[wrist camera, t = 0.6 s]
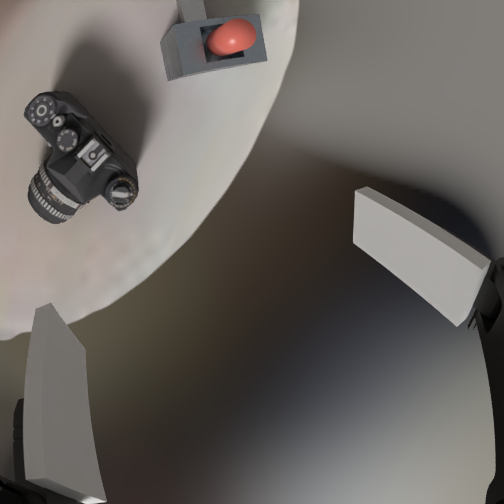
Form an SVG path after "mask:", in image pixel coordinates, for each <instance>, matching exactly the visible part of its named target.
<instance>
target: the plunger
mask: <svg viewBox="0 0 504 504" xmlns="http://www.w3.org/2000/svg"><path fill="white" fill-rule="evenodd" d="M255 40H256V30H255V28H254V26H253V25H252V24H251V23H250V22H249V21H247V20H244V19H240V18H236V19H232V20H230V21H228V22H226V23H225V24H223V25H222V26H220V27H218V28H217V29H215V30H213V31H212V32H211V33H210V34H209V35H208V36H207V39H206V46H207V48H208V50H209V51H210V52H211V53H212V54H214V55H216V56H226V55H229V54H232V53H235V52H238V51H241V50H245V49H247V48H249V47H251V46H252V45H253V44H254V42H255Z"/></svg>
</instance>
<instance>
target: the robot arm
mask: <svg viewBox="0 0 504 504" xmlns="http://www.w3.org/2000/svg"><path fill="white" fill-rule="evenodd" d="M353 243H354V244H356V245H357V246H358V247H360V248H361V249H363V250H364V251H365V252H366V253H368V254H369V255H370V256H372V257H373V258H374V259H375V260H377V261H378V262H379V263H381V264H382V265H383V266H384V267H386V268H387V269H388V270H390V271H391V272H392V273H393V274H395V275H396V276H397V277H399V278H400V279H401V280H402V281H404V282H405V283H406V284H407V285H408V286H410V287H411V288H412V289H413V290H414V291H416V292H417V293H418V294H419V295H421V296H422V297H423V298H424V299H425V300H426V301H428V302H429V303H430V304H431V305H433V306H434V307H435V308H436V309H437V310H438V311H440V312H441V313H442V314H443V315H444V316H445V317H446V318H448V319H449V320H450V321H451V322H452V323H453V324H454V325H456V326H458V325H460V324H461V323H462V322H463V320H465V319H466V318H467V316H468V314H469V312H470V310H471V308H472V306H474V307H475V308H476V310H475V312H474V315H473V316H472V318H471V320H470V322H469V324H468V330H471V328H472V326H473V324H474V322H475V321H476V324H475V326H474V330H478V331H479V336H480V339H481V344H482V348H483V353H484V358H485V363H486V368H487V373H488V380H489V386H490V393H491V400H492V408H493V418H494V431H495V452H496V472H495V476H494V479H493V480H492V482H491V484H490V485H489V488H488V490H487V495H486V503H485V504H504V258H499V259H498V260H497V261H495V260H493V259H491V258H490V257H489V256H487V255H486V254H484V253H482V252H481V251H480V250H478V249H477V248H475V247H474V246H472V245H471V244H469V243H468V242H467V243H466V242H465V240H463V239H462V238H460V237H459V238H458V236H457V235H455V234H454V233H452V232H450V231H449V230H447V229H444V228H442V227H439V226H437V225H435V224H434V223H432V222H430V221H428V220H427V219H425V218H424V217H422V216H420V215H419V214H417V213H415V212H413V211H412V210H410V209H408V208H406V207H404V206H403V205H401V204H399V203H397V202H395V201H394V200H392V199H390V198H388V197H386V196H384V195H382V194H380V193H379V192H377V191H375V190H373V189H371V188H369V187H365V188H362V189H359V190H356V191H355V212H354V234H353ZM13 428H14V430H13V439H14V442H13V453H14V471H15V483H14V482H12V481H10V480H8V479H6V478H4V477H2V476H0V504H77V501H80V502H82V503H86V504H94V503H101V502H107V501H106V497H105V493H104V489H103V485H102V481H101V477H100V472H99V467H98V462H97V458H96V451H95V446H94V439H93V433H92V427H91V419H90V411H89V401H88V390H87V376H86V357H85V348H84V347H83V346H82V345H81V344H80V342H79V341H78V340H77V338H76V337H75V336H74V334H73V333H72V332H71V330H70V329H69V328H68V326H67V325H66V324H65V322H64V321H63V319H62V318H61V317H60V315H59V314H58V312H57V311H56V309H55V308H54V306H53V305H52V304H51V303H49V304H47V305H44V306H42V307H40V308H37V309H36V311H35V316H34V321H33V327H32V332H31V339H30V345H29V352H28V361H27V369H26V379H25V390H24V398H23V399H19V400H18V402H17V405H16V408H15V411H14V421H13Z"/></svg>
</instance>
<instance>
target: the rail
mask: <svg viewBox="0 0 504 504" xmlns="http://www.w3.org/2000/svg"><path fill="white" fill-rule="evenodd" d="M176 1H177V6H178V12H179V17H180V22H181V23H180V24H174V25H173V26H172V27H171V28H170V30H169V31H168V32H167V34H166V35H165V36H164V38H163V39H162V40H161V42H160V45H161V50H162V55H163V60H164V64H165V69H166V74H167V78H168V81H170V80H174V79H178V78H182V77H187V76H191V75H196V74H200V73H205V72H210V71H215V70H220V69H226V68H232V67H237V66H242V65H247V64H253V63H258V62H264V61H267V56H266V50H265V44H264V38H263V33H262V27H261V22H260V16H259V14H257V15H241V16H229V17H220V18H211V19H207V16H206V11H205V6H204V1H203V0H176ZM236 18H240V19H244V20H247V21H249V22H250V23H251V24H252V25H253V26H254V28H255V30H256V40H255V42H254V44H253V45H252V46H251V47H249V48H247V49H245V50H241V51H238V52H235V53H232V54H229V55H226V56H216V55H214V54H212V53H211V52H210V51H209V50H208V48H207V46H206V39H207V36H208V35H209V34H210V33H211V32H212V31H213V30H215V29H217V28H218V27H220V26H222V25H223V24H225V23H226V22H228V21H230V20H232V19H236Z"/></svg>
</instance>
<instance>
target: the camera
mask: <svg viewBox="0 0 504 504" xmlns="http://www.w3.org/2000/svg"><path fill="white" fill-rule="evenodd" d="M24 117H25V118H26V119H27V120H28V121H29V122H30V123H31V124H32V125H33V127H34V128H35V129H36V130H37V131H38V132H39V133H40V134H41V135H42V136H43V137H44V138H45V139H46V140H47V141H48V142H47V144H48V146H50V147H53V148H54V149H53V153H52V154H51V155H50V156H49V157H48V158H47V160H44V161H43V163H42V164H41V165H40V168H39V170H38V173H37V174H35V176H34V177H33V178H32V180H31V183H30V185H29V191H28V200H29V203H30V205H31V206H32V208H33V209H34V211H35V212H36V213H37V214H38V215H39V216H40V217H42V218H43V219H44V220H46V221H48V222H50V223H53V224H59V223H61V222H65V221H67V219H70V218H72V216H73V215H74V214H75V212H76V211H77V210H78V209H81V208H82V207H83V206H84V205H85V204H86V203H89V201H90V200H92V199H94V198H95V197H97V196H98V195H100V194H101V195H102V196H103V197H104V198H105V199H106V200H107V201H108V203H109V204H111V205H112V206H113V207H115V208H116V209H117V210H118V211H122V210H125V209H126V208H127V207H128V206H129V205H131V204H132V203H133V202H134V200H135V199H136V197H137V195H138V191H139V187H138V177H137V169H136V166H135V163H134V162H133V160H132V159H131V158H130V157H129V156H128V155H127V154H126V153H125V152H124V151H123V150H122V149H121V148H120V146H118V145H117V144H116V143H115V141H114V140H113V139H112V138H111V137H110V136H109V135H108V134H107V133H106V132H105V130H104V129H103V128H102V127H101V126H100V125H99V124H98V123H97V122H96V120H95V119H94V118H93V117H92V116H91V115H90V114H89V113H88V112H87V111H86V109H85V108H84V107H83V106H82V105H81V104H79V103H78V101H77V100H76V99H75V98H74V97H73V96H72V95H71V94H69V93H67V92H58V91H53V92H44V93H40V94H38V95H37V96H36V97H35V98H33V100H32V101H31V102H30V103H29V104H28V106H27V107H26V108H25V112H24Z"/></svg>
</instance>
